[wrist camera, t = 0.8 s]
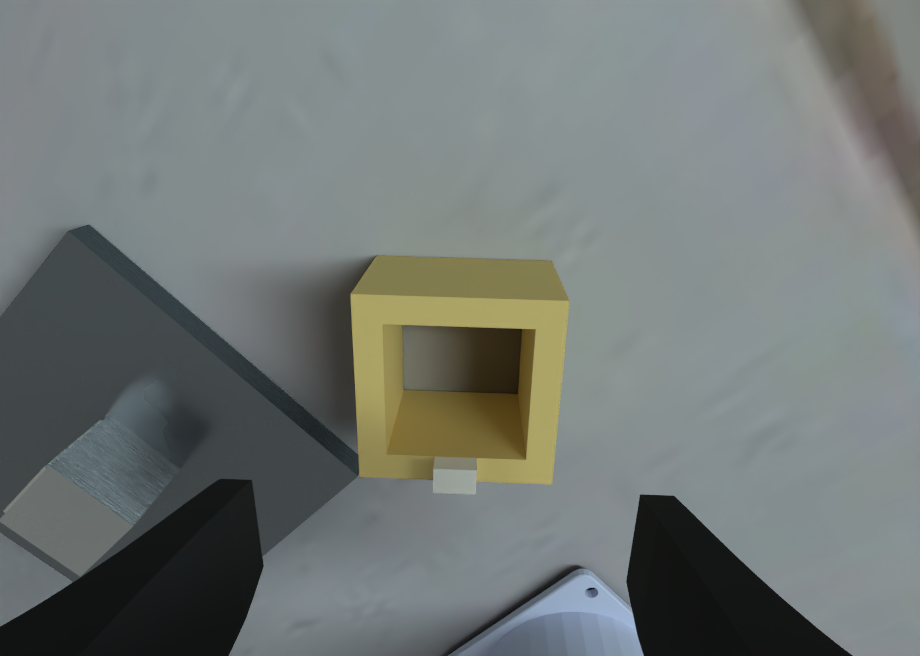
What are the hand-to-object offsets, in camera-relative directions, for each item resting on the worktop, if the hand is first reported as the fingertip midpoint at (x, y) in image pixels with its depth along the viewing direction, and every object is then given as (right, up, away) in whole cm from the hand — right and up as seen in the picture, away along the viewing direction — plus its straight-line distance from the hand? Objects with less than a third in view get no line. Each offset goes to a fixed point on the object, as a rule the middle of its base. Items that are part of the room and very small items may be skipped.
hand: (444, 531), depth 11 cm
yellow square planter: (0, +3, +9) cm, 9 cm away
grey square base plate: (-12, -1, +11) cm, 16 cm away
